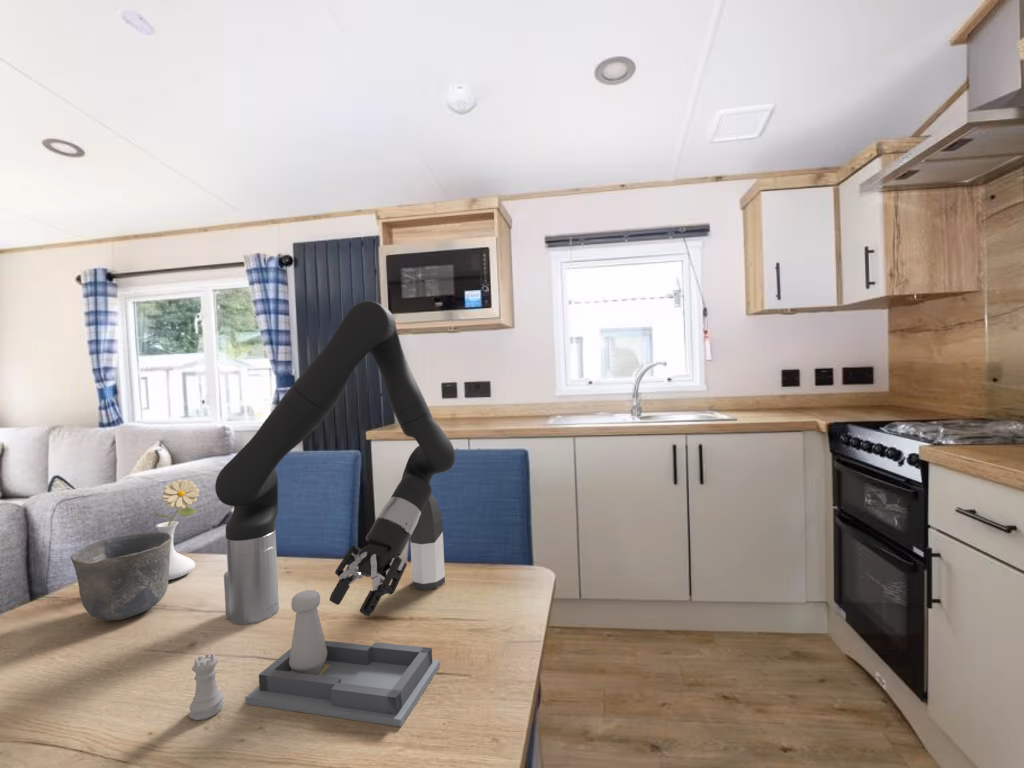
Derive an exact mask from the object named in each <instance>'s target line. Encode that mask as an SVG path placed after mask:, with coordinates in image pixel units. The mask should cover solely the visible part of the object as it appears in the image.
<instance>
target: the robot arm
mask: <svg viewBox="0 0 1024 768" xmlns="http://www.w3.org/2000/svg"><path fill="white" fill-rule="evenodd" d="M369 353H370V355H371V356H372V357H373V359H374V361H375V363H376V365H377V367H378V370H379V372H380V375H381V376H382V380H383V383H384V386H385V389H386V394H387V397H388V401H389V403H390V406H391V409H392V412H393V413H394V416H395V418H396V420H397V422H398V424H399V426H400V429H401V431H402V432H403V434H404V435H405V436H406V437H409V438H412V439H414V440H415V441H416V443H417V444H418V445H417V446H416V447H415V449H414V450H413V451H412V452H411V454H410V455H409V457H408V458H407V459H408V460H407V461H406V465H405V467H404V471H403V473H402V477H401V480H400V482H399V483H398V485H397V486H396V488H395V489H394V492H393V493H392V494H391V497H390V498H389V499H388V501H387V502H386V504H385V505H384V506H383V508H381V511H380V512H379V514H378V516H377V518H376V519H375V521H374V523H373V525H372V526H371V528H370V529H369V532H368V533H367V535H366V536H365V541H366V544H365V546H364V547H363V548H359V547H358V546H356V545H355V544H353V545H351V546H350V548H349V550H348V551H347V553H346V554H345V556H344V557H343V559H342V561H341V562H340V563H339V565H338V567H337V568H336V569H335V572H334V574H335V575H337V577H338V579H339V580H338V582H337V584H336V585H335V587H334V588H333V590H332V591H331V594H330V597H329V601H330V602H331V603H333V604H335V605H337V606H338V605H340V604H341V602H342V601H343V599H344V597H345V596H346V594H347V592H348V590H349V589H350V587H351V586H350V585H351V584H352V583H354V582H355V581H357V580H358V579H362V578H363V577H366V578H369V577H371V580H372V582H371V583H372V585H371V586H372V588H371V589H372V590H371V589H370V590H369V591H368V594H367V596H366V597H365V599H364V601H363V603H362V604H361V607H360V608H359V613H361V614H362V615H364V616H365V617H370V616H371V614H373V612H374V611H375V609H376V607H377V606H378V604H379V602H380V600H381V598H382V597H383V596H385V595H388V594H389V596H392V595H394V593H395V591H396V589H397V587H398V585H399V582H400V580H401V579H402V576H403V574H404V573H405V570H406V568H407V566H408V564H407V562H406V561H405V560H403V559H402V558H401V557H400V556H401V555H402V554H403V552H404V550H405V548H406V546H407V544H408V542H409V541H410V537H411V535H412V533H413V531H414V529H415V527H416V525H417V523H418V520H419V518H420V515H421V513H422V511H423V510H424V508H425V506H426V504H427V502H428V500H429V498H430V496H431V493H432V486H431V485H430V481H431V479H432V478H433V476H434V475H436V474H441V473H445V472H447V471H449V470H450V469H451V468H452V467H453V466H454V464H455V460H456V452H455V449H454V446H453V444H452V442H451V440H450V438H449V437H448V436H447V434H446V433H445V432H444V430H443V429H442V428H441V426H440V425H439V424H438V423H437V421H435V418H433V415H432V413H431V410H430V408H429V406H428V404H427V402H426V400H425V397H424V396H423V394H422V392H421V389H420V387H419V385H418V383H417V381H416V378H415V377H414V375H413V373H412V371H411V368H410V366H409V364H408V360H407V358H406V356H405V353H404V349H403V348H402V344H401V340H400V336H399V332H398V328H397V325H396V320H395V317H394V315H393V314H392V312H391V311H390V310H389V308H386V306H384V305H382V304H381V303H378V302H377V301H375V300H364V301H359V302H357V303H355V305H353V306H352V307H351V308H350V309H349V310H348V311H347V313H346V315H345V316H344V317H343V319H342V321H341V322H340V324H339V325H338V327H337V329H336V330H335V332H334V334H333V335H332V336H331V338H330V340H329V341H328V342H327V345H325V347H324V348H323V350H321V352H320V353H319V354H318V355H317V356H316V357H315V358H314V359H313V360H312V362H311V363H310V364H309V365H308V366H307V367H306V368H305V370H304V371H303V372H302V373H301V375H300V376H299V377H298V378H297V379H296V380H295V381H294V383H293V384H292V385H291V387H289V389H288V390H287V391H286V393H285V394H284V395H283V396H282V397H281V400H280V401H279V402H278V403H277V405H276V406H275V407H274V409H273V410H272V411H271V412H270V414H269V415H268V417H267V418H266V419H265V420H264V421H263V423H262V424H261V426H259V428H258V430H256V433H254V435H253V436H252V438H251V439H250V440H249V441H248V442H247V443H246V445H244V446H243V447H242V448H241V450H239V451H238V453H237V454H235V455H234V456H233V458H231V459H230V460H229V461H228V462H227V463H226V464H225V466H224V467H223V468H222V469H220V471H219V473H218V475H217V476H216V480H215V485H214V488H215V494H216V496H217V499H218V500H219V501H220V502H221V503H223V504H225V505H226V506H230V507H233V511H232V514H231V516H230V518H229V520H228V521H227V523H226V525H225V543H226V545H225V546H226V562H227V563H226V565H227V567H226V568H227V571H226V572H224V574H223V583H224V584H223V586H224V605H225V606H224V608H225V619H226V620H227V619H228V620H229V621H230V622H231V623H232V624H236V625H250V624H255V623H258V622H261V621H264V620H267V619H269V618H271V617H273V616H274V615H276V613H278V611H279V610H278V609H280V603H279V602H280V599H279V578H278V577H279V576H278V574H279V573H278V556H277V552H278V551H277V536H276V520H277V518H278V512H279V479H278V472H277V470H276V467H277V466H278V465H279V463H280V462H281V461H283V459H284V457H286V455H288V453H290V452H291V451H293V449H294V448H296V447H297V446H298V445H299V444H301V443H302V442H303V441H304V440H305V439H306V438H308V437H309V435H310V434H312V433H313V431H315V430H316V429H317V428H318V427H319V426H320V425H321V423H322V422H323V421H324V419H325V418H326V417H327V416H328V415H329V414H330V412H331V411H332V409H334V407H335V406H336V404H337V403H338V401H339V399H340V397H341V396H342V394H343V392H344V390H345V388H346V385H347V383H348V381H349V379H350V377H351V375H352V374H353V371H355V369H356V367H357V366H358V365H359V364H360V362H361V361H362V360H364V358H365V357H366V356H367V355H368V354H369ZM346 566H347V567H346ZM345 568H346V569H345ZM344 569H345V570H344Z"/></svg>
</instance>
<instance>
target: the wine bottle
mask: <svg viewBox="0 0 1024 768" xmlns="http://www.w3.org/2000/svg"><path fill="white" fill-rule="evenodd" d="M442 516H443V515H442V514H441V510H440V507H439V505H438V502H437V499H436V498H435V497H434V494H433V493H432V492H431V496H430V498H429V500H428V502H427V504H426V506H425V508H424V510H423V511H422V513H421V515H420V518H419V520H418V523H417V525H416V527H415V529H414V531H413V533H412V535H411V537H410V538H409V541H410V562H411V563H410V564H411V579H412V580H411V581H412V587H413V589H416V590H420V591H428V590H429V589H430V590H435V589H434V588H436V589H438V588H439V586H440V585H441V586H443V585H444V584H446V574H445V573H446V572H445V571H446V570H445V553H444V551H445V550H444V547H445V546H444V530H443V529H444V528H443V517H442ZM443 583H444V584H443ZM442 584H443V585H442ZM441 586H440V587H441ZM437 587H438V588H437ZM430 590H429V591H430Z"/></svg>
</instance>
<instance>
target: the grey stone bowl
mask: <svg viewBox="0 0 1024 768" xmlns="http://www.w3.org/2000/svg"><path fill="white" fill-rule="evenodd" d="M171 539H172V537H171V536H170V534H168V533H165V532H159V531H149V532H148V531H145V532H135V533H128V534H122V535H117V536H113V537H110V538H105V539H102V540H98V541H95V542H93V543H91V544H88V545H86V546H83V548H80V549H78V550H77V551H76V552H75V553H72V554H71V555H70V560H71V561H72V564H73V567H74V570H75V574H76V578H77V584H78V590H79V591H78V592H79V597H80V600H81V603H82V606H83V608H84V610H86V611H87V613H88V614H89V615H90V616H91V617H92V618H94V619H95V620H99V621H105V622H106V621H107V622H113V621H120V620H121V621H122V620H126V619H128V618H132V617H134V616H137V615H139V614H141V613H143V612H146V611H148V610H149V609H151V608H153V607H154V606H156V605H157V604H158V603H159V602H161V601H162V599H163V598H164V596H165V594H166V593H167V590H168V585H169V580H168V577H169V565H170V544H171Z"/></svg>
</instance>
